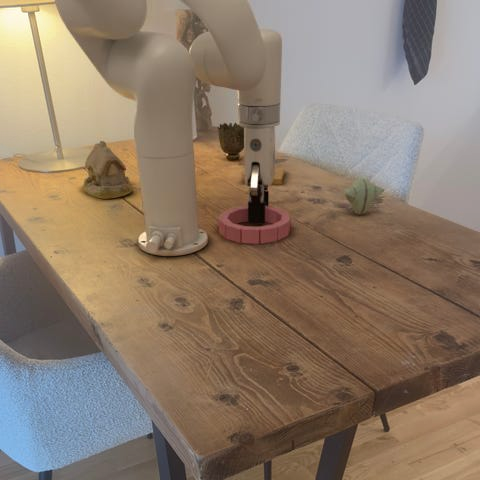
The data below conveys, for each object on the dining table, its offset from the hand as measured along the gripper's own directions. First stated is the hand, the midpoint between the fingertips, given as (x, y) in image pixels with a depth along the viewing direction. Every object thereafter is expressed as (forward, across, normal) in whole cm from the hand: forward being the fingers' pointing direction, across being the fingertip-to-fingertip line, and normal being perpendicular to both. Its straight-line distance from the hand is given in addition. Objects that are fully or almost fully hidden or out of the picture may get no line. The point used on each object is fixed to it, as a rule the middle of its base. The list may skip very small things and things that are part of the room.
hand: (258, 216), depth 111 cm
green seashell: (+1, +5, -20) cm, 21 cm away
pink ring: (+1, -6, 0) cm, 6 cm away
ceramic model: (+1, +16, +36) cm, 39 cm away
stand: (+1, +28, +2) cm, 28 cm away
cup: (+1, +44, +12) cm, 46 cm away
